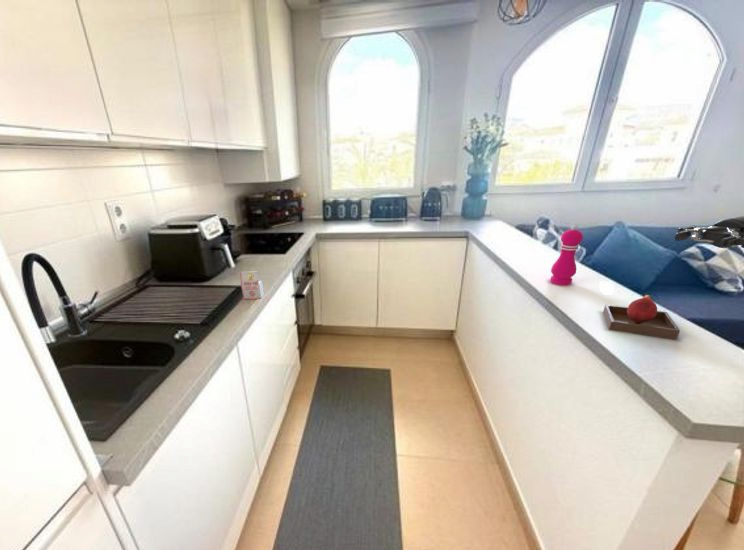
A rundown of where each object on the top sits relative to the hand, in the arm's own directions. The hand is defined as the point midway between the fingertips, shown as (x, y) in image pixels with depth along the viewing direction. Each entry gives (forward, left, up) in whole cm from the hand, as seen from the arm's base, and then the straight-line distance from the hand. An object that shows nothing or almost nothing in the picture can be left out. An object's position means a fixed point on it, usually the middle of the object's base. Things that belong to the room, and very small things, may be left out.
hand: (699, 240), depth 86 cm
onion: (+8, +10, -21) cm, 24 cm away
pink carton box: (+122, +32, -21) cm, 128 cm away
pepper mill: (+24, -18, -21) cm, 37 cm away
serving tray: (+8, +10, -21) cm, 25 cm away
